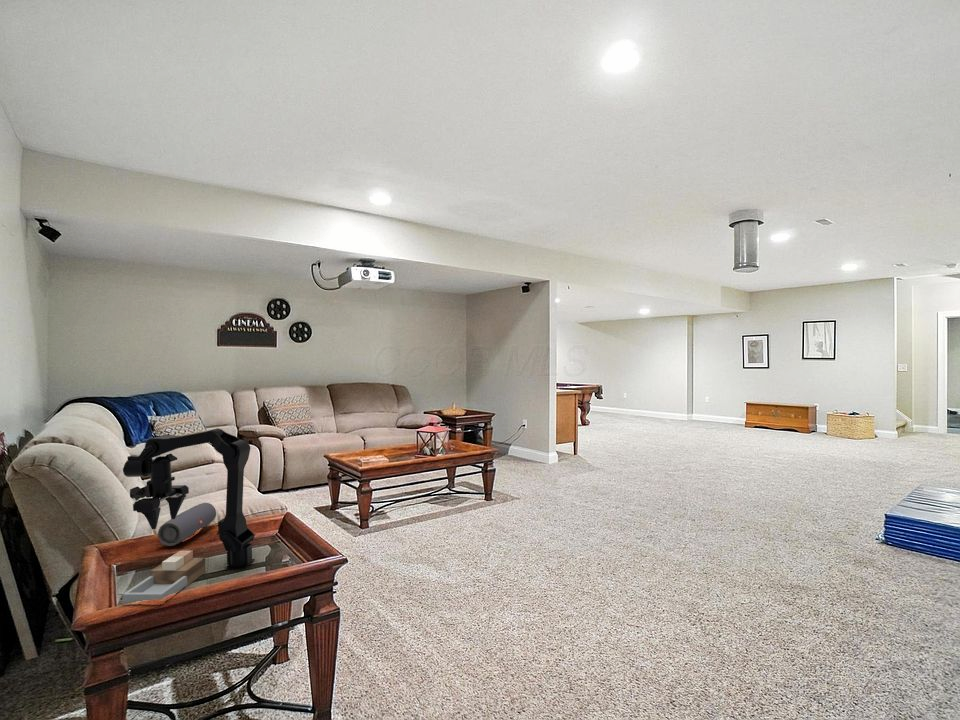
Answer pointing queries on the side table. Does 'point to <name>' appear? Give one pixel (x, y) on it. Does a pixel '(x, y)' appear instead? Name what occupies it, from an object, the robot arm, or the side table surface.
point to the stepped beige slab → (179, 572)
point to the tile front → (173, 563)
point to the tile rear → (185, 555)
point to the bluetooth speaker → (186, 524)
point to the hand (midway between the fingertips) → (163, 524)
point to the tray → (152, 590)
